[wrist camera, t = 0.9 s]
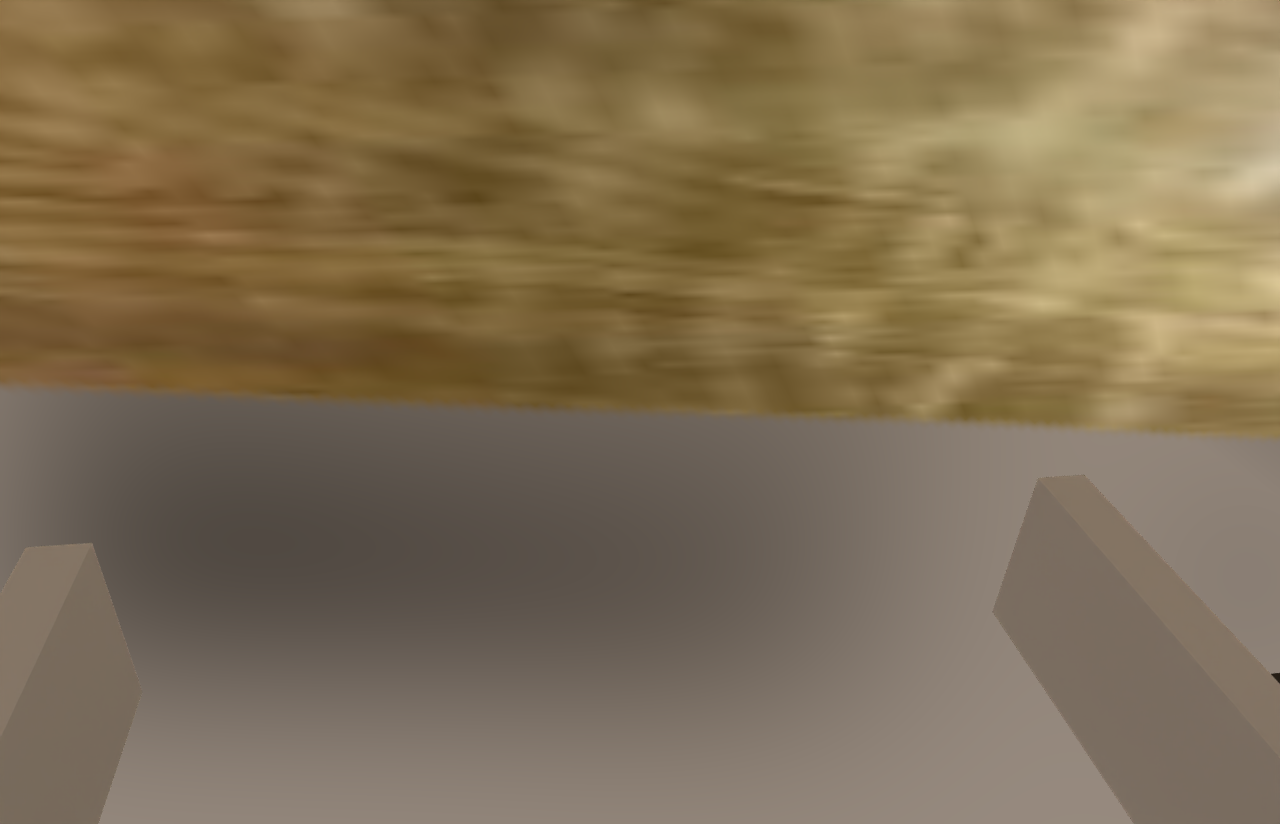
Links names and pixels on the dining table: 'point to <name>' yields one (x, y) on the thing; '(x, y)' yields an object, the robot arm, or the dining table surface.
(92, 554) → the robot arm
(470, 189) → the dining table surface
